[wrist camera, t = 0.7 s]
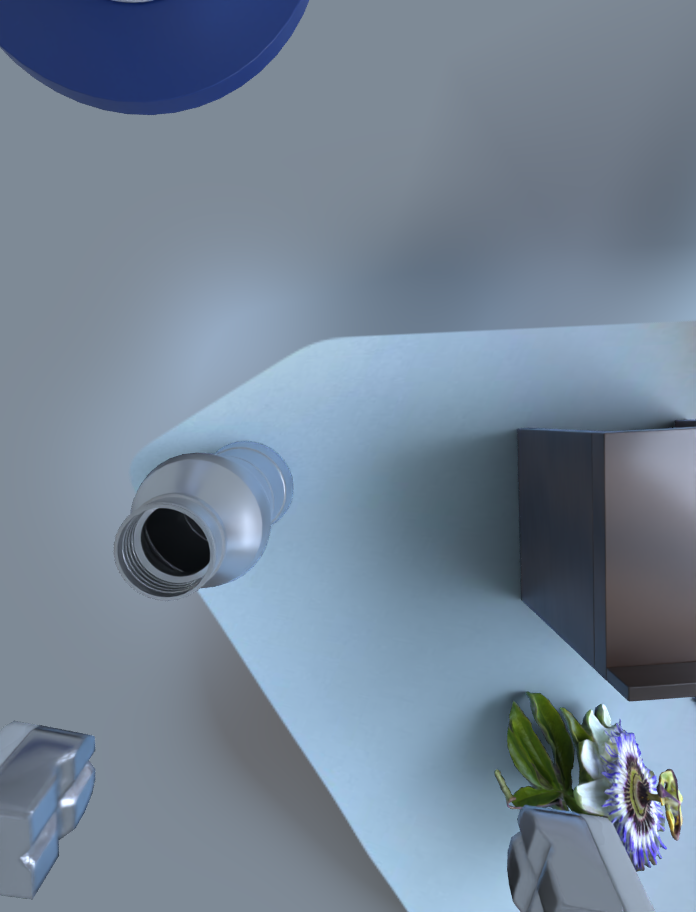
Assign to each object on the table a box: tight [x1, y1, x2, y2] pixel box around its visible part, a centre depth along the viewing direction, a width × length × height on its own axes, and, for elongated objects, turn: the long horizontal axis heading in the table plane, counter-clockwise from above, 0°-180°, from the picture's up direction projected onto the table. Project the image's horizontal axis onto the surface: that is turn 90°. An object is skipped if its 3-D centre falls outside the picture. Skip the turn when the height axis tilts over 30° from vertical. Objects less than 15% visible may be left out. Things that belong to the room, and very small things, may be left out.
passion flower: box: [494, 692, 683, 872], centre depth 36 cm, size 11×11×12 cm
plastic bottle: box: [114, 441, 293, 601], centre depth 27 cm, size 6×7×20 cm
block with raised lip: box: [517, 420, 696, 701], centre depth 31 cm, size 14×14×14 cm
